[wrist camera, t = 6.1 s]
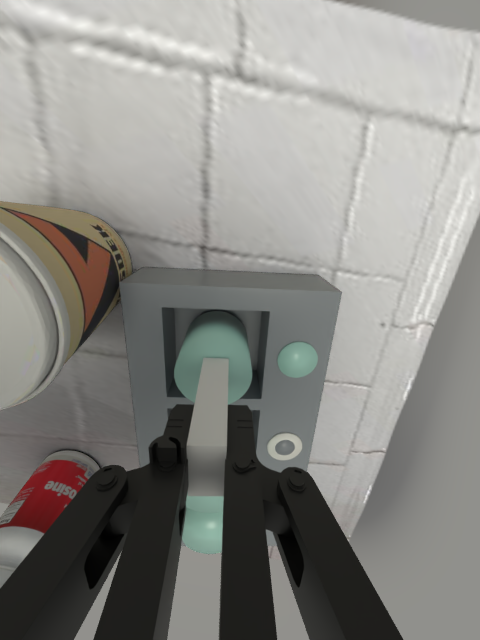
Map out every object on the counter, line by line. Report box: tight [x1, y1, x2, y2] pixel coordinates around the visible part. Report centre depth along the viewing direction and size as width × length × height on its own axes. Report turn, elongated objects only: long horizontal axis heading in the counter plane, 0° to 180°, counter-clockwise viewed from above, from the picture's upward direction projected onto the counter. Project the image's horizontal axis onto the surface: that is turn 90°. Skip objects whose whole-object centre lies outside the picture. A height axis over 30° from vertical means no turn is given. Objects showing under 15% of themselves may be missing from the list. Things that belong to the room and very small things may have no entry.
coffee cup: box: [0, 201, 132, 411], centre depth 16 cm, size 9×9×12 cm
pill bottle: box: [0, 450, 100, 588], centre depth 24 cm, size 6×6×11 cm
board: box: [119, 267, 342, 546], centre depth 24 cm, size 14×26×5 cm, turn 177°
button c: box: [174, 311, 252, 404], centre depth 19 cm, size 5×5×5 cm
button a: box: [182, 507, 223, 554], centre depth 25 cm, size 5×5×5 cm
